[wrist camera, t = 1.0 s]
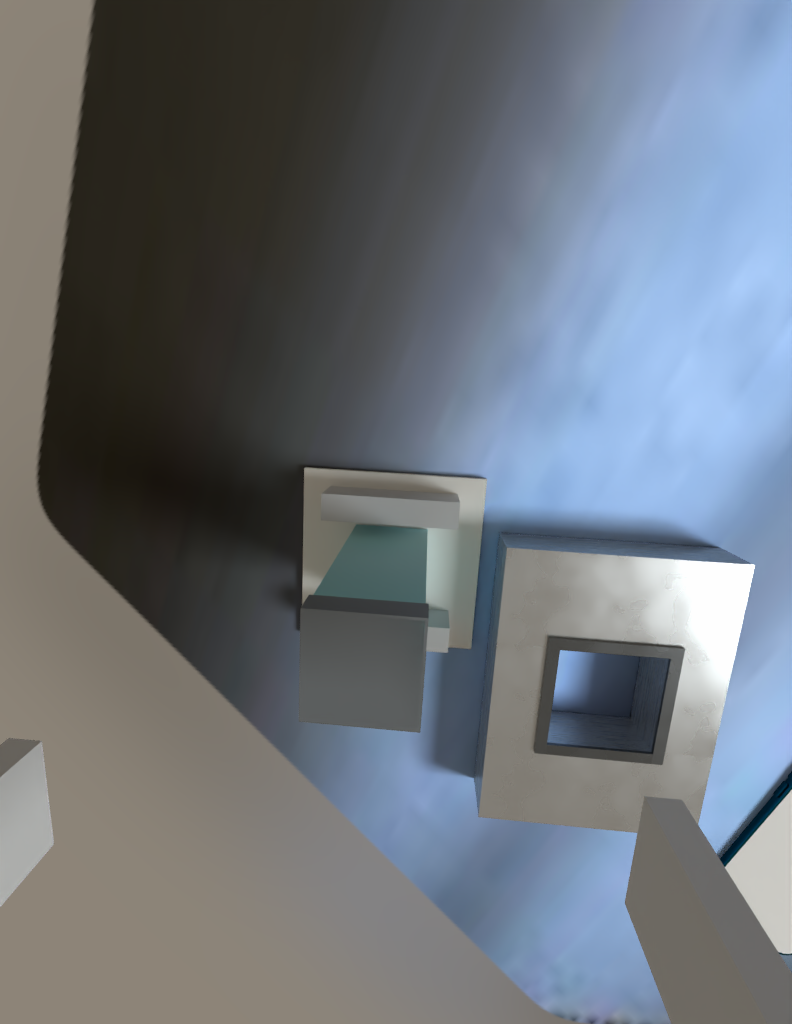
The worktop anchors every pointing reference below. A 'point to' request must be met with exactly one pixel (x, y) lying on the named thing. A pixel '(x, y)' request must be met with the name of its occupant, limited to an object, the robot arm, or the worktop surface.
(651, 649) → the port panel
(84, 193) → the worktop surface
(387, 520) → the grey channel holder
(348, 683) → the plug
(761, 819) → the smartphone
